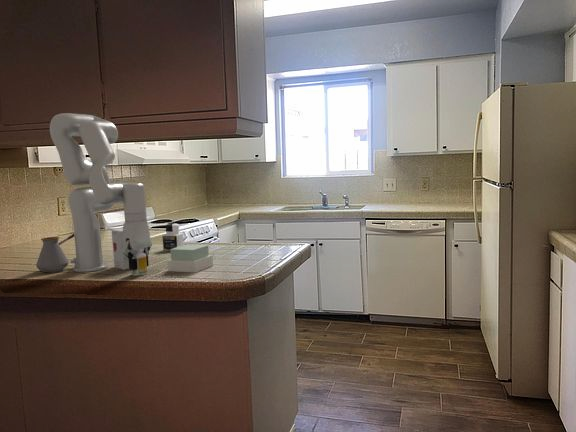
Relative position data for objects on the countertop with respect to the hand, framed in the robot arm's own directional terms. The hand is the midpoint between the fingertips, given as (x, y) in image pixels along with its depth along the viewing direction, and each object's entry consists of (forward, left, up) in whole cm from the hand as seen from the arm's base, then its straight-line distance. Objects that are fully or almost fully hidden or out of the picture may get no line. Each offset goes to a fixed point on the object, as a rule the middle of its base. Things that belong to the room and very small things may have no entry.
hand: (139, 267), depth 180 cm
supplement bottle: (0, 0, -3) cm, 3 cm away
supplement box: (-14, +11, -3) cm, 18 cm away
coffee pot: (-39, +3, -3) cm, 39 cm away
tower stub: (+13, +13, -3) cm, 19 cm away
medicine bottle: (-20, +49, -3) cm, 53 cm away
